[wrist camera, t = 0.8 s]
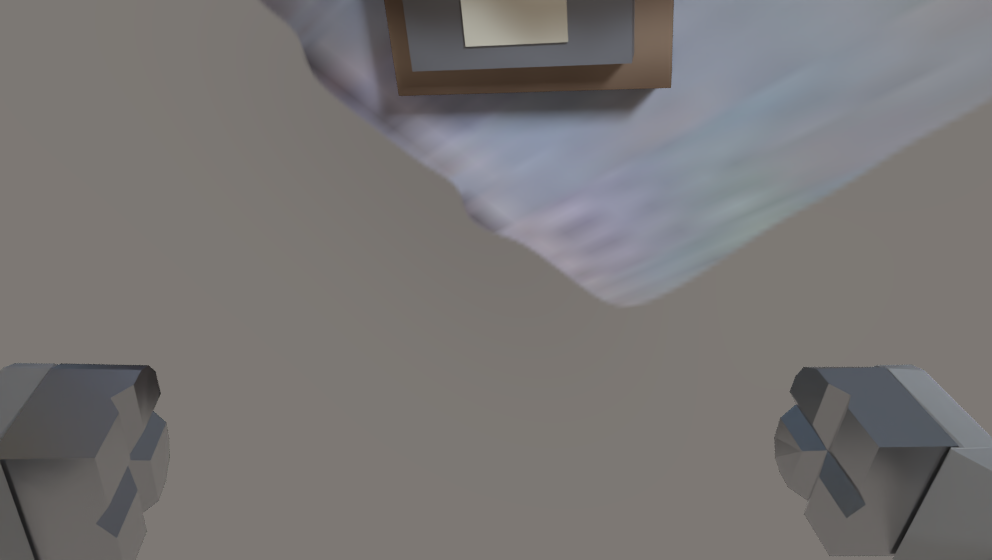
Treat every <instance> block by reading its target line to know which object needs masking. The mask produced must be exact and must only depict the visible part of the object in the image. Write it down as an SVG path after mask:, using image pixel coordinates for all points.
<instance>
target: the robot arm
mask: <svg viewBox="0 0 992 560" xmlns="http://www.w3.org/2000/svg"><path fill="white" fill-rule="evenodd" d="M790 393H791V395H792V397H793V399H794V402H795V404H796V405H795V406H794V407H792V408H791V409H790V410H789V411H788V412H786V413H785V414H784V415H783V416H782V417H781V418H780V421H779V424H778V427H777V430H776V434H775V437H774V440H775V459H776V462H777V465H778V468H779V472H780V474H781V475H782V477H783V479H784V481H785V483H786V484H787V486H788V487H789V488H790V489H791V490H793V491H794V492H796V493H797V494H799V495H800V496H802V497H803V498H805V499H806V500H807V504H806V508H805V513H804V515H805V516H806V518H807V520H808V521H809V523H810V524H811V526H812V528H813V530H814V531H815V533H816V534H817V536H818V538H819V539H820V541H821V543H822V544H823V546H824V548H825V549H826V551H827V553H828V554H829V556H894V557H893V559H894V560H992V437H991V436H990V435H989V434H988V433H987V432H986V431H984V429H983V428H982V427H980V425H979V424H978V423H977V422H976V421H975V420H974V419H973V418H972V417H971V416H970V415H968V413H967V412H966V411H965V410H964V409H963V408H962V407H961V406H959V404H958V403H957V402H956V401H955V400H953V398H952V397H951V396H949V394H948V393H946V391H945V390H944V389H943V388H942V387H941V386H939V385H938V383H937V382H936V381H934V379H932V377H931V376H930V375H928V373H927V372H926V371H924V370H923V369H920V368H918V367H916V366H914V365H880V366H874V367H803V368H802V370H801V371H800V372H799V373H798V374H797V375H796V377H795V379H794V382H793V384H792V387H791V390H790ZM160 394H161V393H160V388H159V385H158V380H157V376H156V372H155V371H154V370H153V369H152V368H151V367H150V366H147V365H104V364H102V365H100V364H59V365H58V364H34V363H33V364H32V363H30V364H29V363H14V364H12V365H9V366H7V367H4V368H3V369H2V370H1V371H0V560H136V557H137V555H138V552H139V550H140V547H141V545H142V542H143V540H144V537H145V535H146V532H147V530H146V525H145V520H144V516H143V512H145V511H146V510H147V509H148V508H150V507H151V506H152V505H154V504H155V503H156V502H158V501H159V498H160V496H161V493H162V490H163V488H164V485H165V482H166V477H167V470H168V464H169V458H170V454H169V452H170V451H169V435H168V430H167V424H166V422H165V421H164V420H163V419H162V418H161V417H159V416H158V415H157V414H156V413H155V412H154V411H153V409H154V407H155V405H156V403H157V401H158V398H159V396H160Z"/></svg>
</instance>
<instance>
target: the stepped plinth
mask: <svg viewBox="0 0 992 560" xmlns="http://www.w3.org/2000/svg"><path fill="white" fill-rule="evenodd" d="M384 2H385V9H386V15H387V22H388V28H389V35H390V41H391V48H392V55H393V61H394V68H395V74H396V81H397V87H398V94H399V96H413V95H446V94H480V93H513V92H547V91H580V90H613V89H647V88H671V74H672V41H673V7H674V0H384Z"/></svg>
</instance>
